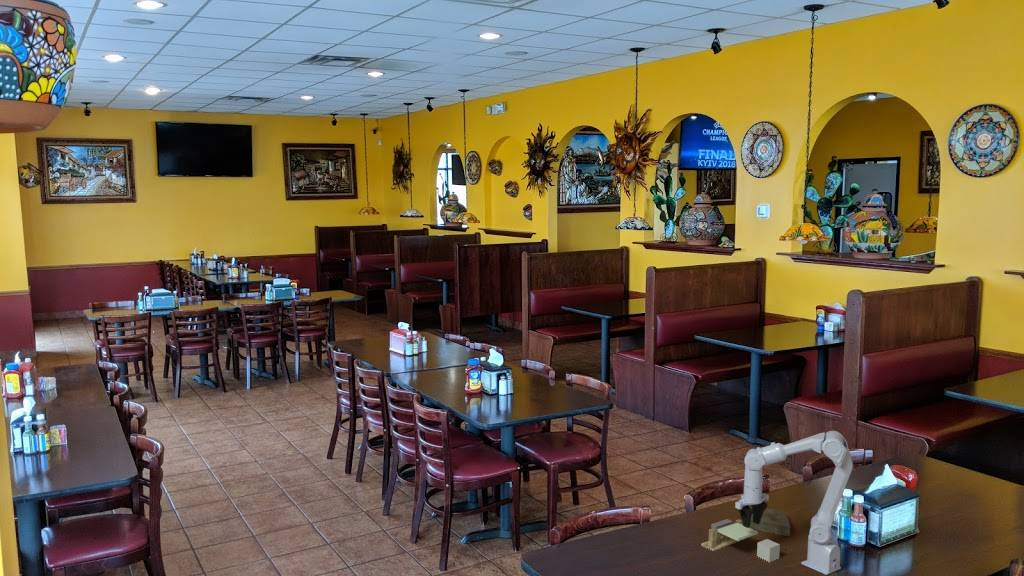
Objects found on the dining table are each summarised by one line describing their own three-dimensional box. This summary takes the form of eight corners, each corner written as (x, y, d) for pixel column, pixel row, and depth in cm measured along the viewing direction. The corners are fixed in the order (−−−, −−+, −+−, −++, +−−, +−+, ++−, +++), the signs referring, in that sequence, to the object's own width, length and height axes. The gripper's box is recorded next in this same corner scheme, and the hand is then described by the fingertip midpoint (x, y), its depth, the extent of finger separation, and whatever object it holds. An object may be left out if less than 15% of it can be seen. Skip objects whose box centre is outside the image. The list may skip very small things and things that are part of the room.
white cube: (779, 558, 262) (779, 544, 261) (769, 562, 259) (769, 548, 259) (766, 553, 266) (767, 538, 265) (756, 556, 263) (757, 542, 263)
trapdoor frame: (742, 540, 276) (743, 521, 275) (712, 551, 267) (713, 531, 266) (731, 535, 280) (731, 516, 279) (701, 545, 271) (701, 526, 271)
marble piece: (790, 537, 279) (791, 526, 278) (746, 533, 282) (747, 522, 281) (785, 518, 295) (786, 508, 294) (744, 515, 298) (744, 504, 298)
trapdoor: (757, 534, 267) (758, 530, 266) (737, 541, 261) (738, 537, 261) (728, 522, 277) (729, 518, 277) (709, 528, 271) (709, 524, 271)
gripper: (757, 477, 270) (755, 516, 271) (728, 486, 262) (727, 525, 263) (774, 484, 264) (772, 523, 266) (745, 493, 256) (744, 533, 258)
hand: (751, 525), depth 264 cm, fingers open, 5 cm apart
